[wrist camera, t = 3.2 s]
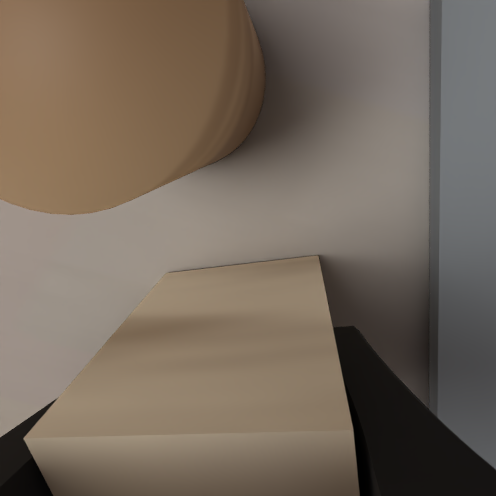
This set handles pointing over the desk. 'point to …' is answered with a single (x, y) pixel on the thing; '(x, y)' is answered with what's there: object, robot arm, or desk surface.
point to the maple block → (209, 394)
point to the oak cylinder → (120, 96)
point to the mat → (463, 221)
